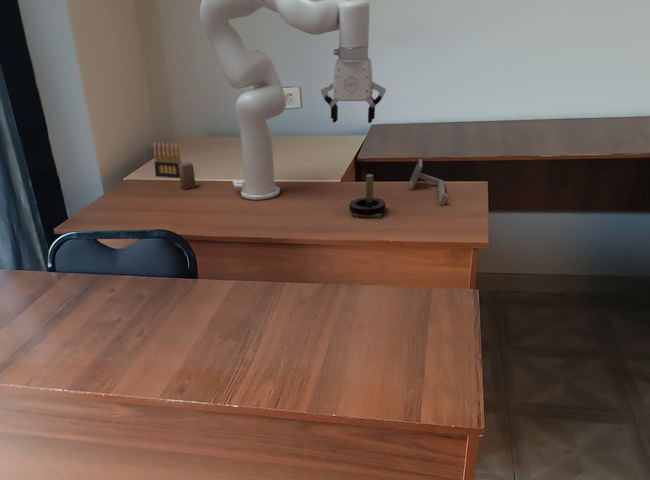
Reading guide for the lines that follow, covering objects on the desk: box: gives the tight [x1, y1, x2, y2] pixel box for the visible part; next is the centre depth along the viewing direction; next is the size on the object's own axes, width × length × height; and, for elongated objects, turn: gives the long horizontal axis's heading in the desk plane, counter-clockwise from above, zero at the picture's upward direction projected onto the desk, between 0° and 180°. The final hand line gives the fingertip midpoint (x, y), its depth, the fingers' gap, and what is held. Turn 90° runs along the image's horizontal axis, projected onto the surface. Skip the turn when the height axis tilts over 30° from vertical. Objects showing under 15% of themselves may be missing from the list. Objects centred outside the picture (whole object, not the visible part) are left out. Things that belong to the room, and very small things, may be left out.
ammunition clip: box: [153, 141, 183, 179], centre depth 236 cm, size 11×2×12 cm, turn 66°
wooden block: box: [178, 161, 196, 190], centre depth 224 cm, size 4×4×8 cm
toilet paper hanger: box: [409, 158, 449, 206], centre depth 203 cm, size 23×9×8 cm, turn 168°
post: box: [352, 173, 385, 219], centre depth 190 cm, size 8×8×11 cm
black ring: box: [348, 196, 386, 215], centre depth 192 cm, size 10×10×2 cm
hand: (352, 121), depth 182 cm, fingers open, 9 cm apart
